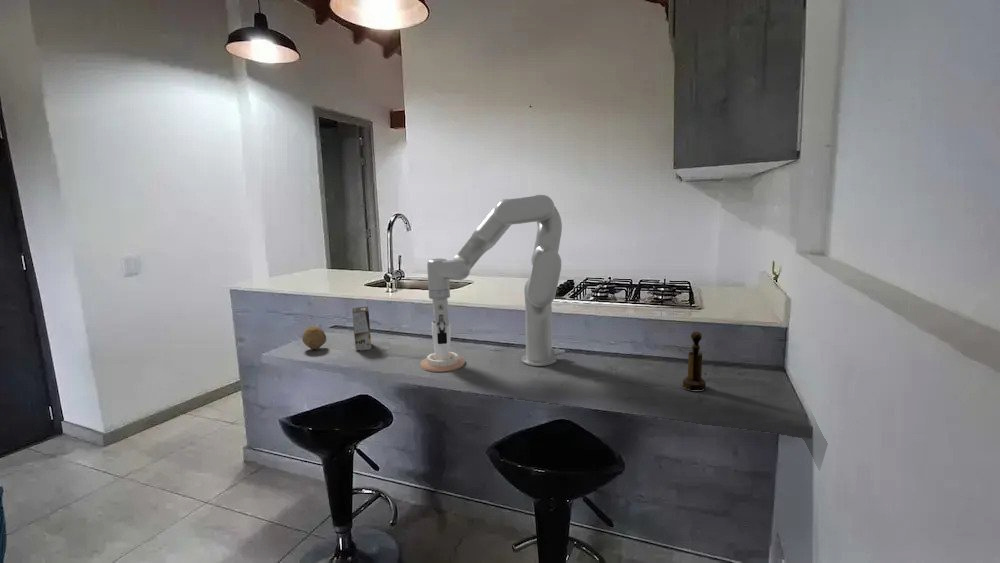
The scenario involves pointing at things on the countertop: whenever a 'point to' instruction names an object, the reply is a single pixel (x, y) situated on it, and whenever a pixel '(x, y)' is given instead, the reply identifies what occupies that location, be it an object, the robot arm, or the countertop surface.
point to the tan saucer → (442, 363)
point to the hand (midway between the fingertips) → (441, 339)
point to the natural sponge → (314, 337)
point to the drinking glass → (441, 349)
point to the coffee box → (361, 328)
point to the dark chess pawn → (695, 366)
